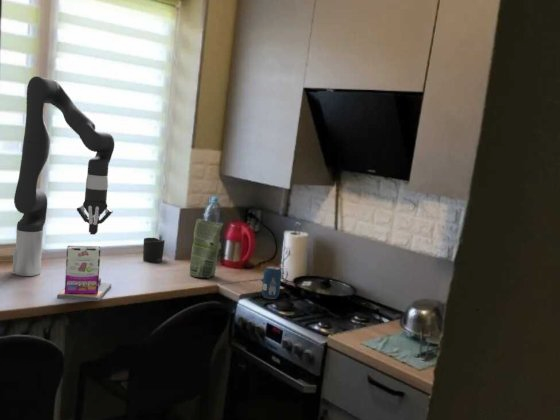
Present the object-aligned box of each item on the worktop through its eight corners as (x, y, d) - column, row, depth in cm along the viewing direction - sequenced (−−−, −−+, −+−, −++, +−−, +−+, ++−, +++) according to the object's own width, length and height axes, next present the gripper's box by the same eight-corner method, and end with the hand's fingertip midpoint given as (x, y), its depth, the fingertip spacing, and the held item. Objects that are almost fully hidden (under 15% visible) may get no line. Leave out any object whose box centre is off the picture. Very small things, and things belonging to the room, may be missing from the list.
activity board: (57, 298, 195) (57, 289, 195) (73, 283, 214) (73, 275, 213) (98, 301, 196) (99, 292, 196) (111, 286, 215) (111, 278, 215)
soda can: (271, 293, 230) (274, 264, 229) (282, 298, 225) (285, 268, 223) (257, 295, 225) (261, 265, 224) (269, 300, 220) (272, 270, 219)
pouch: (188, 272, 249) (193, 216, 246) (214, 273, 253) (220, 218, 250) (191, 279, 239) (196, 220, 236) (219, 280, 242) (224, 222, 239)
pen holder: (143, 262, 258) (144, 241, 256) (141, 258, 266) (142, 237, 265) (164, 263, 261) (165, 242, 259) (161, 258, 270) (163, 238, 268)
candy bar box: (97, 290, 204) (100, 246, 202) (98, 294, 199) (101, 249, 197) (64, 290, 200) (67, 244, 198) (64, 294, 195) (66, 247, 193)
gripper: (74, 186, 201) (71, 234, 204) (112, 190, 202) (108, 237, 205) (80, 184, 209) (77, 230, 211) (117, 188, 210) (113, 234, 212)
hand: (93, 234), depth 208 cm, fingers closed
